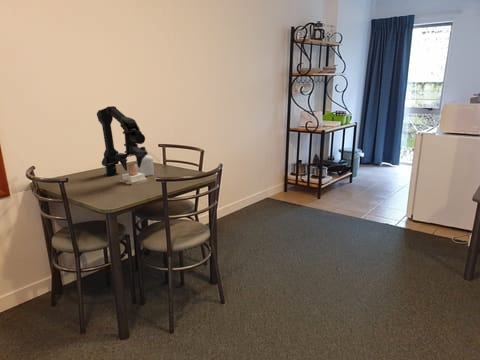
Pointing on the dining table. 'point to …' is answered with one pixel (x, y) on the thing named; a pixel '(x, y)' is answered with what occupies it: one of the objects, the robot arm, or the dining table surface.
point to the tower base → (133, 181)
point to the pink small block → (133, 169)
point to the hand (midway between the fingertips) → (132, 169)
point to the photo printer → (146, 166)
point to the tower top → (133, 177)
